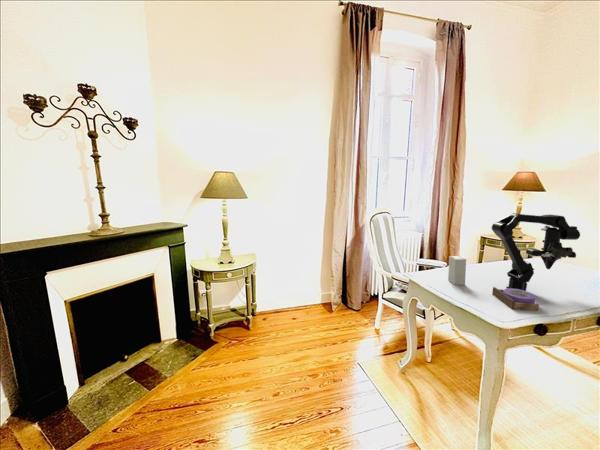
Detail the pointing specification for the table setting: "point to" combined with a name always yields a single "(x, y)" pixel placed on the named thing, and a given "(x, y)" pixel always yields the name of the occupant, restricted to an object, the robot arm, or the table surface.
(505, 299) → the brown flat open tray
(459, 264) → the skincare box
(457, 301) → the table surface
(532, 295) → the tape roll
